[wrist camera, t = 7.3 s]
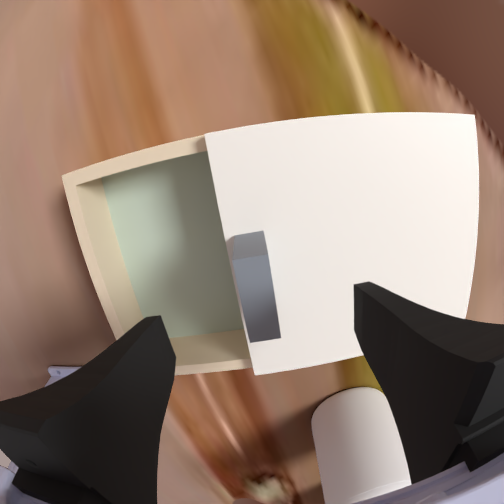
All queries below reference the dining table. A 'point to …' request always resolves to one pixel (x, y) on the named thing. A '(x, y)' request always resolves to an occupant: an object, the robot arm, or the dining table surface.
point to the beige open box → (161, 251)
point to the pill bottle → (358, 447)
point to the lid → (343, 223)
